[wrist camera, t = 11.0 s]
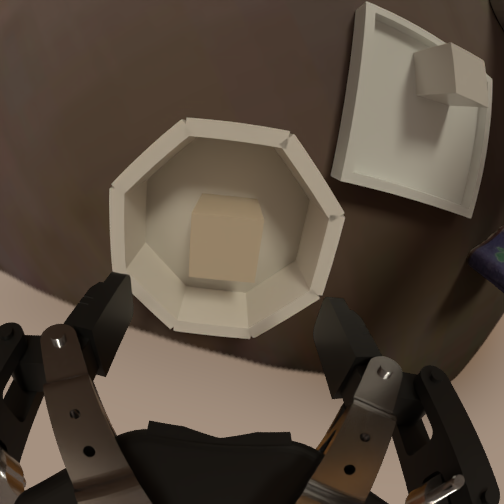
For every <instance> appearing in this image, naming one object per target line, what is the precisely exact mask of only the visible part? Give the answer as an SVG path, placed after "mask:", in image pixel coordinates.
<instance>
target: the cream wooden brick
mask: <svg viewBox="0 0 504 504" xmlns="http://www.w3.org/2000/svg"><path fill="white" fill-rule="evenodd" d="M263 226H264V218H263V215H262V211H261V208H260V205H259V202H258V199H253V198H245V197H236V196H226V195H216V194H205V193H202V194H201V196H200V198H199V200H198V202H197V204H196V206H195V208H194V209H193V211H192V215H191V233H190V254H189V277H196V278H206V279H216V280H227V281H238V282H249V283H255V276H256V270H257V264H258V257H259V251H260V245H261V238H262V232H263Z"/></svg>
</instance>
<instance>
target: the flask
mask: <svg viewBox="0 0 504 504" xmlns="http://www.w3.org/2000/svg"><path fill="white" fill-rule="evenodd" d="M467 264H468V266H470V267H472V268H473V269H474V270H475V271H477V272H478V273H479V274H481V275H482V276H483V277H484V278H486V279H487V280H489V281H490V282H491V283H493V284H494V285H495V286H496V287H497V288H498V289H499V290H501V291H502V292H503V293H504V225H503V226H501V227H500V229H499V230H498V231H496V232H495V233H493V234H491V235H490V236H489V237H488V239H487V240H486V241H483V242H482V244H480V245H478V246H476V247H475V248H473V249H471V251H470V252H469V254H468V256H467Z"/></svg>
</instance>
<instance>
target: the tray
mask: <svg viewBox="0 0 504 504" xmlns="http://www.w3.org/2000/svg"><path fill="white" fill-rule="evenodd" d="M442 44H446V43H445V42H443V41H442V40H440V39H438V38H437V37H435V36H434V35H432V34H430V33H429V32H427V31H425V30H424V29H422V28H420V27H418V26H417V25H415V24H413V23H411V22H409V21H407V20H406V19H404V18H402V17H400V16H398V15H396V14H394V13H392V12H389V11H387V10H385V9H383V8H381V7H378V6H376V5H374V4H371V3H369V2H367V1H366V2H365V3H364V4H363V5H362V6H360V7H359V8H358V9H357V10H356V12H355V23H354V33H353V42H352V51H351V59H350V66H349V74H348V81H347V88H346V94H345V101H344V107H343V113H342V119H341V124H340V130H339V135H338V141H337V146H336V151H335V156H334V161H333V166H332V171H331V176H332V177H334V178H336V179H337V180H339V181H342V182H347V183H351V184H356V185H360V186H364V187H368V188H372V189H376V190H380V191H383V192H387V193H391V194H395V195H398V196H402V197H405V198H409V199H412V200H416V201H419V202H422V203H425V204H429V205H432V206H435V207H438V208H441V209H444V210H447V211H450V212H453V213H456V214H459V215H462V216H464V217H467V218H470V219H471V218H472V214H473V211H474V207H475V203H476V200H477V196H478V192H479V188H480V183H481V179H482V174H483V169H484V164H485V158H486V152H487V146H488V139H489V130H490V121H491V108H492V78H491V77H489V76H488V75H487V74H486V79H487V91H488V108H485V107H468V106H448V105H445V104H442V103H439V102H436V101H433V100H430V99H426V98H423V97H420V96H416V78H415V65H414V55H413V53H414V52H417V51H421V50H424V49H428V48H431V47H435V46H439V45H442Z"/></svg>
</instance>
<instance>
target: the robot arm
mask: <svg viewBox="0 0 504 504" xmlns="http://www.w3.org/2000/svg"><path fill="white" fill-rule="evenodd" d="M490 2H491V5H492V8H493V11H494V13H495V15H496V17H497V19H498V21H499V23H500V25H501V26H502V28H503V30H504V0H490ZM132 316H133V298H132V287H131V278H130V275H128V274H122V273H116V272H112V273H110V275H109V276H108V277H107V279H106V280H105V281H104V283H103V282H99V283H97V284H95V285H94V286H92V287H91V288H90V289H89V290H88V291H87V293H86V294H85V295H84V297H83V298H82V299H81V300H80V303H78V304H77V306H76V307H75V308H74V310H73V311H72V313H71V314H70V315H69V317H68V318H67V320H66V321H65V322H64V324H56V325H53V326H50V327H48V328H47V329H46V330H45V331H44V332H43V333H42V335H41V336H35V335H34V336H32V335H24V332H23V330H22V328H21V326H20V325H19V324H17V323H6V324H3V325H1V326H0V504H388V503H387V502H385V501H384V500H382V499H381V498H379V497H378V496H377V495H375V494H373V493H372V492H371V491H370V490H371V488H372V486H373V483H374V481H375V478H376V476H377V474H378V471H379V469H380V466H381V464H382V461H383V459H384V456H385V454H386V451H387V448H388V445H389V442H390V440H391V437H392V438H393V441H394V444H395V447H396V450H397V454H398V457H399V461H400V464H401V468H402V471H403V475H404V478H405V482H406V486H407V490H408V494H409V495H408V496H407V498H406V502H405V504H498V503H499V499H500V492H499V488H498V485H497V482H496V479H495V476H494V474H493V471H492V468H491V466H490V463H489V461H488V458H487V456H486V453H485V451H484V449H483V446H482V444H481V442H480V439H479V437H478V435H477V433H476V431H475V429H474V427H473V425H472V423H471V420H470V418H469V416H468V414H467V412H466V410H465V408H464V407H463V404H462V403H461V401H460V399H459V397H458V395H457V393H456V392H455V390H454V388H453V386H452V384H451V382H450V381H449V379H448V377H447V375H446V374H445V373H444V372H443V371H442V370H441V369H439V368H437V367H435V366H425V367H423V368H422V370H421V371H420V373H419V374H418V375H416V374H410V373H405V372H402V369H401V367H400V366H399V365H398V364H397V363H396V362H395V361H393V360H392V359H390V358H387V357H383V356H382V355H381V353H380V351H379V349H378V347H377V346H376V344H375V342H374V340H373V338H372V336H371V334H369V331H368V329H367V328H366V325H365V324H364V322H363V320H362V318H361V317H360V316H359V315H358V314H356V313H355V312H354V311H353V310H350V309H349V308H348V306H347V304H346V302H345V300H344V299H343V298H333V297H325V298H324V300H323V302H322V305H321V308H320V311H319V314H318V317H317V320H316V323H315V326H314V331H313V337H314V342H315V345H316V348H317V351H318V354H319V358H320V361H321V364H322V367H323V371H324V374H325V377H326V380H327V383H328V387H329V390H330V394H331V397H332V399H338V398H343V401H344V403H343V405H342V406H341V408H340V410H339V412H338V414H337V415H336V417H335V419H334V421H333V422H332V424H331V426H330V428H329V429H328V431H327V433H326V435H325V436H324V438H323V440H322V441H321V442H320V444H319V445H318V447H317V448H316V449H314V448H312V447H310V446H307V445H305V444H302V443H298V442H294V441H292V440H291V434H290V432H255V433H250V434H245V435H239V436H233V437H226V438H217V437H214V436H210V435H207V434H204V433H201V432H198V431H195V430H192V429H189V428H187V427H184V426H178V425H171V424H165V423H160V422H154V421H149V424H148V429H141V430H134V431H130V432H126V433H123V434H120V435H118V436H117V435H116V433H115V431H114V429H113V427H112V425H111V423H110V421H109V418H108V416H107V414H106V412H105V409H104V407H103V405H102V402H101V400H100V397H99V395H98V392H97V390H96V387H95V384H94V382H93V380H94V378H95V376H96V375H100V376H104V377H106V375H107V373H108V371H109V368H110V366H111V364H112V361H113V359H114V357H115V354H116V352H117V350H118V347H119V345H120V343H121V341H122V339H123V337H124V334H125V332H126V330H127V328H128V326H129V324H130V322H131V319H132ZM11 375H12V377H13V381H12V383H11V385H10V387H9V389H8V391H7V393H6V395H5V397H4V399H3V390H4V388H5V386H6V384H7V382H8V380H9V378H10V377H11ZM44 396H45V400H46V405H47V409H48V413H49V417H50V421H51V424H52V428H53V431H54V435H55V438H56V441H57V444H58V447H59V450H60V453H61V456H62V459H63V461H64V464H65V467H66V468H65V469H63V470H61V471H60V472H58V473H56V474H55V475H53V476H51V477H49V478H48V479H46V480H44V481H42V482H40V483H39V484H37V485H35V486H33V487H31V488H29V489H28V490H25V491H24V487H25V485H26V481H25V478H24V474H23V470H22V468H21V466H20V464H19V463H20V460H21V456H22V453H23V450H24V447H25V444H26V441H27V438H28V435H29V432H30V429H31V427H32V424H33V421H34V419H35V416H36V414H37V411H38V408H39V406H40V404H41V401H42V399H43V397H44ZM425 414H427V417H428V419H429V421H430V424H431V426H432V429H433V435H432V438H431V440H430V439H429V436H428V434H427V431H426V429H425V426H424V424H423V421H422V419H421V418H422V417H423V416H424V415H425Z"/></svg>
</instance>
